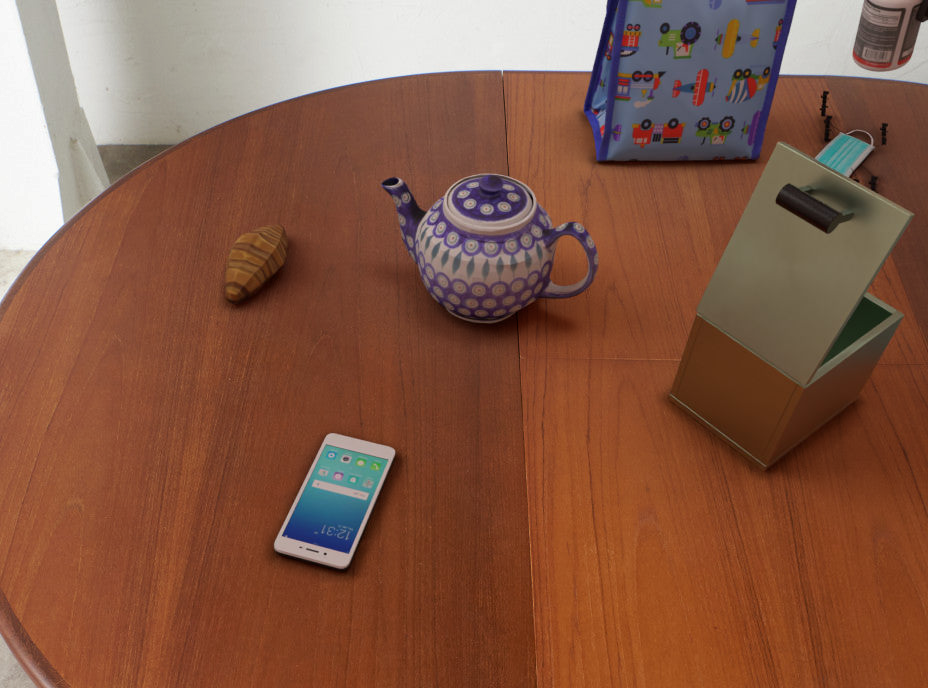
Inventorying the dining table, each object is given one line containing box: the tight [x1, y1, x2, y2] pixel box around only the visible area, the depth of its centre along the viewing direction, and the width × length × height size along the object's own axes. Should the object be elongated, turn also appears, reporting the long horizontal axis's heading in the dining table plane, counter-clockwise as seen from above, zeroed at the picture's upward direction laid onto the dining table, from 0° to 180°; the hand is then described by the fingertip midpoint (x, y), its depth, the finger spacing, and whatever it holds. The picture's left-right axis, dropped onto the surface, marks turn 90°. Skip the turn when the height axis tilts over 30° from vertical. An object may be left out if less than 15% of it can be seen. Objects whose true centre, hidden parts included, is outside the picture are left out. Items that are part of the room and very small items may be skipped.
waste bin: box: [667, 291, 905, 472], centre depth 94 cm, size 16×13×12 cm
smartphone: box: [273, 432, 396, 572], centre depth 90 cm, size 8×1×15 cm
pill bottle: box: [851, 0, 923, 73], centre depth 93 cm, size 6×6×10 cm
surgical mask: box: [813, 90, 889, 194], centre depth 124 cm, size 21×4×10 cm
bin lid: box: [695, 140, 916, 386], centre depth 79 cm, size 16×13×5 cm
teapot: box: [380, 173, 600, 324], centre depth 102 cm, size 25×15×15 cm, turn 63°
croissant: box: [223, 224, 289, 305], centre depth 108 cm, size 14×7×5 cm, turn 161°
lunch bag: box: [583, 0, 798, 162], centre depth 116 cm, size 22×14×29 cm, turn 93°
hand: (895, 5), depth 93 cm, fingers closed on pill bottle, 6 cm apart
